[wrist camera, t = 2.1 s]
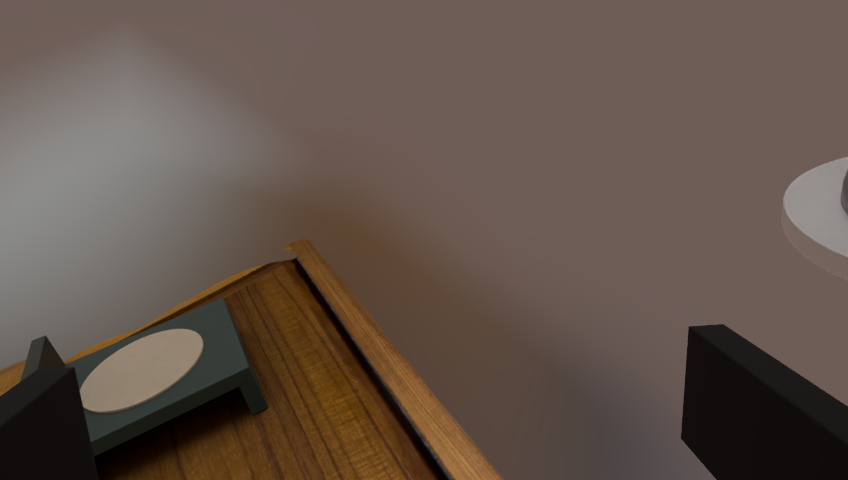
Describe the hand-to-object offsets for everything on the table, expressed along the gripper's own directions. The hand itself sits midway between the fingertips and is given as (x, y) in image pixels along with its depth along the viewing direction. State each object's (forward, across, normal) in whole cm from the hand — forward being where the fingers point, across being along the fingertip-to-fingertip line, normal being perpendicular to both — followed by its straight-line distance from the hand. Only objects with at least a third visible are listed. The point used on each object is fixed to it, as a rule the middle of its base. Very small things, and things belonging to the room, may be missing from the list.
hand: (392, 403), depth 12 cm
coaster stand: (+29, -19, -16) cm, 38 cm away
